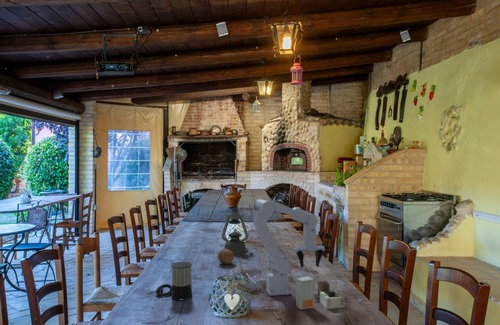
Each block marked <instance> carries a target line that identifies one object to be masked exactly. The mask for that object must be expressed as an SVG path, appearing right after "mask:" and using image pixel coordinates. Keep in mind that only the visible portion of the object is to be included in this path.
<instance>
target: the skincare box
mask: <svg viewBox="0 0 500 325" xmlns="http://www.w3.org/2000/svg"><path fill="white" fill-rule="evenodd" d="M295 279H296V290H295V291H296V295H295V298H296V300H295V301H296V303H295V304H296V305H295V306H296V307H297V309H299V310H307V309H313V308H314V283H315V282H314V278H312V277H311V276H302V277H297V278H295Z"/></svg>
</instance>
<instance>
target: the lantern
mask: <svg viewBox="0 0 500 325" xmlns="http://www.w3.org/2000/svg"><path fill="white" fill-rule="evenodd" d="M225 217H226V219H224V221H223V222H222V223H221V229H222V232H221V233H222V234H221V238H222V240H223V241H225V243H224V247H223V249H225V248H227V249H228V250H230V251H232V252H233V253H234V255H238V254H237V253H240V254H245V253H247V252H248V251H249V248H247V246H246V243H245V242H246V241H247V240H248V239H249V233H248V229H247V227H248V226H247V225H248V223H247V221H246V219H245V218H244V214H240V213H239V208H237V207H233V208H231V212H230V214H225ZM230 219H231V220H230ZM224 222H225V223H224ZM223 224H224V225H223ZM229 224H231V225H239V224H241V225H239V226H238V228H239V227H240V229H243V230H242V231H237V230H235V228H232V230H230V231H227V229H230V228H231V226H230V225H229ZM223 226H224V227H223ZM232 231H233V232H232ZM226 233H228V237H226V235H227V234H226ZM243 234H244V235H245V237H243V238H241V237H242V236H243ZM244 252H245V253H244Z"/></svg>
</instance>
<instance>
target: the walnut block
mask: <svg viewBox="0 0 500 325" xmlns="http://www.w3.org/2000/svg"><path fill="white" fill-rule="evenodd" d="M330 287H331V285H330V283H329V282H327V281H317V296H318V297H319V298H320V292H323V291H331V290H330Z"/></svg>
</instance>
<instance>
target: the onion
mask: <svg viewBox="0 0 500 325" xmlns="http://www.w3.org/2000/svg"><path fill="white" fill-rule="evenodd" d="M224 248H225V247H224ZM224 248H223V249H222V250H220V251H219V252H218V254H217V258H218V262H219V263H220V264H222V265H224V266H227V265H230V264H231V263H233V262H234V257H235V256H234V255H235V254H233V252H232V251H230V250H228V249H227V248H225V249H224Z"/></svg>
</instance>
